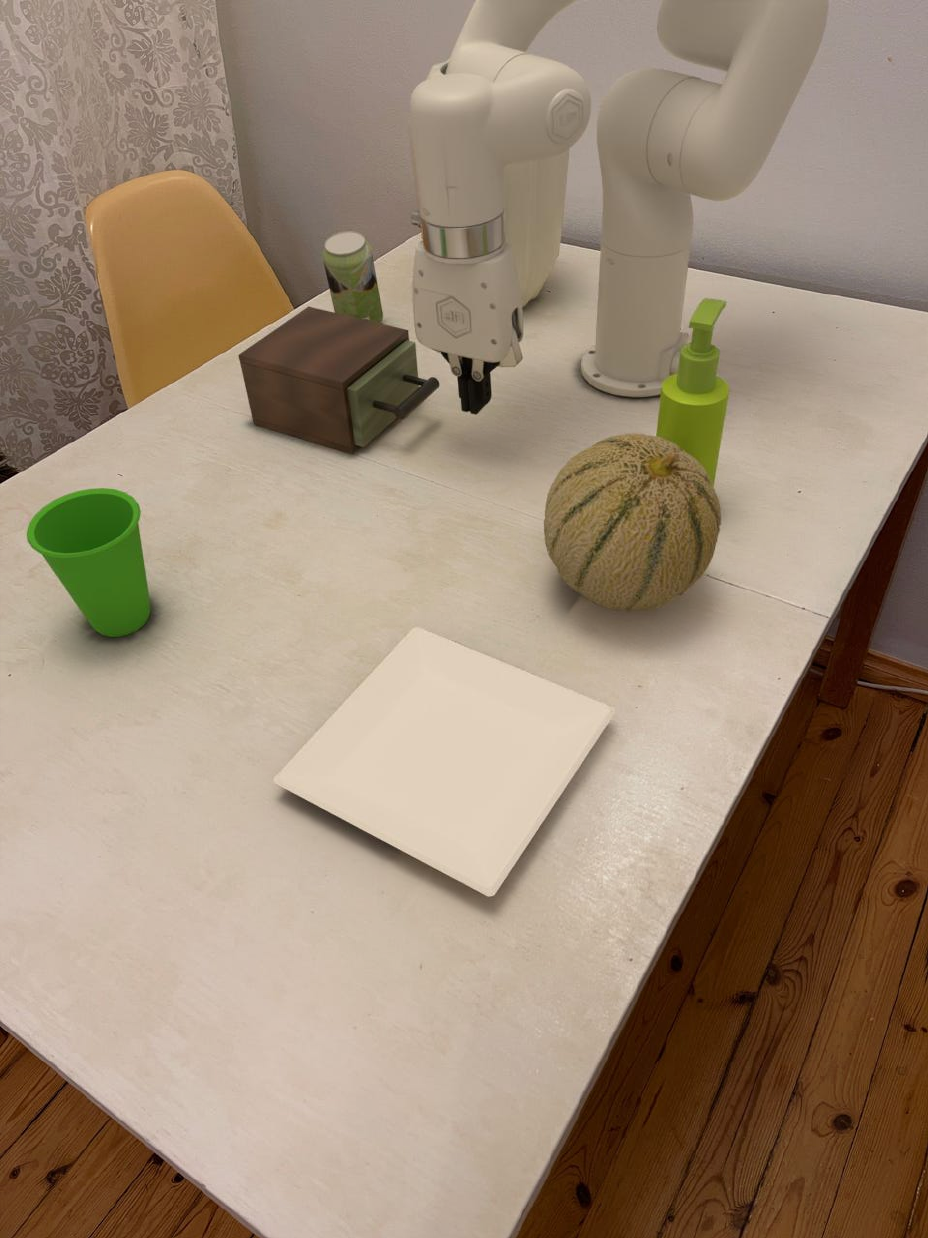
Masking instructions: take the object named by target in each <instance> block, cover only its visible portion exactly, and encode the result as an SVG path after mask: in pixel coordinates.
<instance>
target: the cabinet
mask: <svg viewBox="0 0 928 1238" xmlns="http://www.w3.org/2000/svg"><path fill="white" fill-rule="evenodd" d="M406 340H408V341H410V334H409V329H406V328H401V327H398V326H394V325H389V324H385V323H382V322H381V323H376V322H372V321H368V320H364V319H359V318H355V317H351V316H347V315H342V314H338V313H335V312H333V311H329V310H325V309H321V308H316V307H314V306H313V307H312V306H307V307H306V308H304V309H303V310H301V311H300V312H298V313H297V314H295V315H294V316H293V317H291V318H290V319H288V320H287V321H285V322H284V323H282V324H281V325H280V326H278V327H277V328H275V329H274V330H272V331H270V332H269V333H268V334H267V335H265V336H263V337H262V338H261V339H259V340H258V341H256V342H255V343H253V344H252V345H250V346H249V347H248V348H246V349H245V350H243V351H242V352H241V353H239V354H238V355H237V356H238V360H239V364H240V368H241V373H242V378H243V382H244V387H245V392H246V396H247V401H248V405H249V409H250V414H251V418H252V422H253V425H255V426H258V427H262V428H265V429H267V430H271V431H274V432H278V433H281V434H285V435H288V436H291V437H295V438H298V439H301V440H304V441H308V442H311V443H314V444H318V445H321V446H324V447H328V448H331V449H334V450H338V451H341V452H344V453H347V454H350V455H353V454H354V453H355V452H357V451H358V450H359V449H360V448H362V446H358V445H355V441H354V434H353V427H352V420H351V413H350V406H349V399H348V392H347V386H348V385H350V384H351V383H352V382H353V381H355V380H356V379H357V378H358V377H360V376H361V375H362V374H363V373H364V372H366V371H367V370H368V369H369V368H371V367H372V366H373V365H374V364H376V363H377V362H378V361H379V360H380V359H382V358H383V357H384V356H385V355H387V354H388V353H389V352H390V351H392V350H393V349H394V350H395V349H396V348H397V347H398V346H400V345H401V344H402V343H403V342H405V341H406Z"/></svg>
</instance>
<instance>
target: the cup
mask: <svg viewBox="0 0 928 1238" xmlns="http://www.w3.org/2000/svg"><path fill="white" fill-rule="evenodd" d="M141 513H142V510H141V507H140V504H139V503H138V502H137V500H136V499H135V498H134V497H133V496H131V495H130V494H128V493H126V492H124V491H122V490H118V489H115V488H106V487H105V488H104V487H98V488H87V489H82V490H77V491H74V492H71V493H67V494H64V495H62V496H60V497H58V498H56V499H54V500H52V501H51V502H49V503H47V504H46V505H44V506H43V507H41V509H40V510H38V511H37V512H36V513H35V514H34V515H33V517H32V519H31V520H30V521H29V523H28V526H27V531H26V539H27V543H28V544H29V546H30V547H31V548H32V550H34V551H36V552H37V553H39V554H40V555H41V556H42V557H43V559H44V560H45V562H46V563H47V564H48V566H49V567H50V568H51V570H52V571H53V573H54V574H55V576H56V577H57V579H58V580H59V582H60V583H61V584H62V586H63V588H64V589H65V590H66V591H67V593H68V594H69V596H70V598H71V599H72V600H73V602H74V603H75V605H76V607H78V609H79V610H80V612H81V613H82V614H83V616H84V617H85V619H86V621H88V623H89V624H90V626H91V628H92V629H93V630H94V631H95V632H97V633H99V634H100V635H101V636H104V637H109V638H119V637H124V636H125V637H126V636H128V635H131V634H133V633H135V632H137V631H138V630H140V629H141V628H142V627H144V625H145V624H146V623H147V622H148V620H149V618H150V615H151V609H152V608H151V599H150V594H149V593H150V592H149V585H148V579H147V573H146V572H147V571H146V566H145V565H146V564H145V559H144V552H143V546H142V545H143V544H142V537H141V532H140V525H139V521H141Z"/></svg>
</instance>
